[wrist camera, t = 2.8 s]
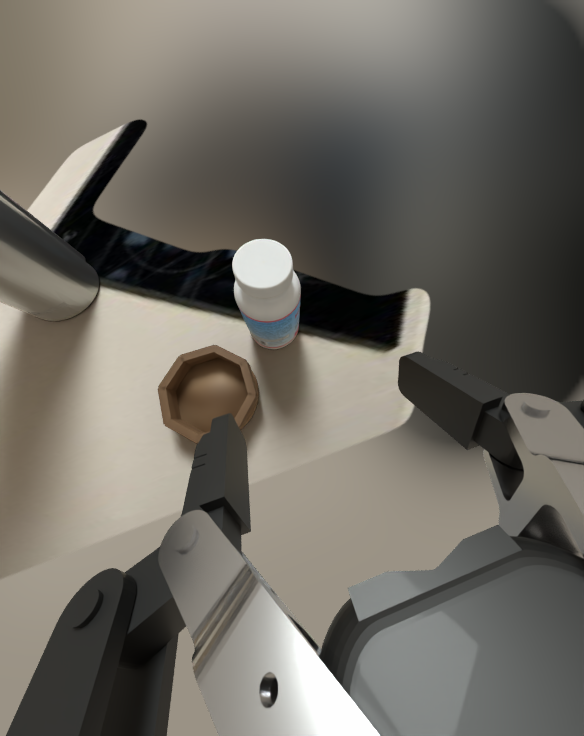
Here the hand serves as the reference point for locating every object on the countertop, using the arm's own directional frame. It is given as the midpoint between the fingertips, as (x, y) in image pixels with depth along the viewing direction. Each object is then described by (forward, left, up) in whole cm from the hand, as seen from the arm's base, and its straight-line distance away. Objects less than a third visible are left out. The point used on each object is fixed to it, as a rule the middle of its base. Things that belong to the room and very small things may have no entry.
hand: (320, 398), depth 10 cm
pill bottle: (-11, 0, -15) cm, 19 cm away
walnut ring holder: (-5, -9, -15) cm, 18 cm away
